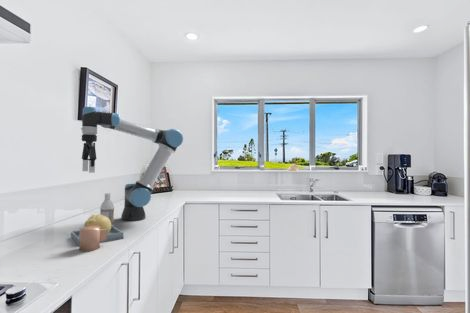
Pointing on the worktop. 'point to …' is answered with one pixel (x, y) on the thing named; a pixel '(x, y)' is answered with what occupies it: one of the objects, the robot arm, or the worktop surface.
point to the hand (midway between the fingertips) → (88, 171)
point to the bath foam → (107, 208)
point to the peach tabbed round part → (91, 238)
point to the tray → (112, 235)
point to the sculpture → (99, 222)
